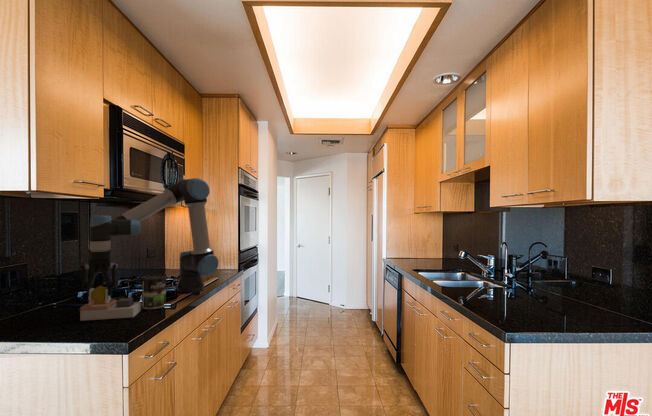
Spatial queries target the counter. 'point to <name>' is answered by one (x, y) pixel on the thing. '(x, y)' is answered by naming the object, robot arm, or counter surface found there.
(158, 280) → the coffee can
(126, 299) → the breaker button
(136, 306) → the box
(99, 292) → the lemon
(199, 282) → the robot arm
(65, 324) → the counter surface
